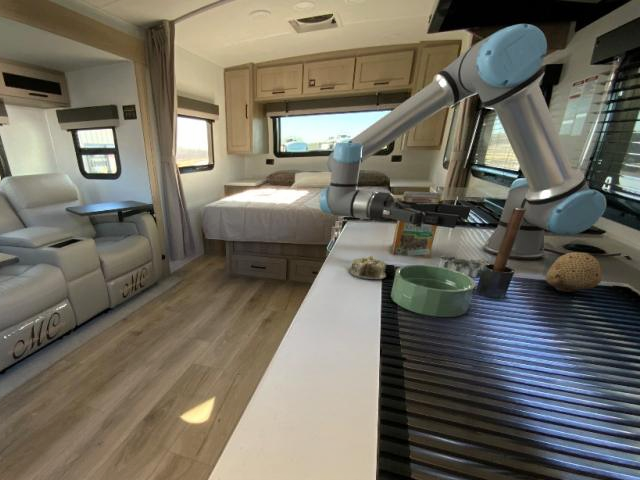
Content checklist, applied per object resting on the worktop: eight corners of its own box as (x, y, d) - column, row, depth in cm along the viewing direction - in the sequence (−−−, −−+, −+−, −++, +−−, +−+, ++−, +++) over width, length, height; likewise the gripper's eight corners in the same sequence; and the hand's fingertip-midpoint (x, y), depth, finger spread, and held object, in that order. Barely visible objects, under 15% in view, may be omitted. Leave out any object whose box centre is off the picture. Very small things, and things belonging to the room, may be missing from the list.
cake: (344, 269, 97) (346, 251, 95) (378, 270, 97) (381, 252, 95) (354, 279, 88) (357, 260, 86) (392, 280, 88) (396, 260, 86)
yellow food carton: (392, 254, 108) (405, 193, 100) (392, 245, 117) (403, 189, 108) (429, 257, 104) (444, 195, 96) (425, 248, 113) (440, 190, 105)
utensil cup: (495, 291, 81) (505, 264, 78) (509, 301, 76) (520, 273, 73) (470, 290, 82) (478, 263, 79) (482, 300, 77) (491, 272, 74)
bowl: (449, 290, 82) (456, 266, 79) (480, 321, 68) (491, 293, 65) (383, 287, 84) (388, 263, 81) (401, 317, 70) (407, 289, 67)
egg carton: (487, 275, 91) (492, 261, 89) (470, 280, 88) (474, 265, 86) (450, 263, 99) (454, 250, 97) (433, 267, 96) (437, 254, 94)
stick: (492, 291, 80) (522, 207, 71) (497, 295, 78) (529, 209, 69) (482, 291, 80) (511, 207, 71) (487, 295, 78) (517, 209, 69)
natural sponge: (601, 297, 77) (622, 257, 73) (574, 303, 75) (594, 261, 71) (558, 283, 85) (574, 245, 81) (532, 287, 83) (548, 249, 79)
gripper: (388, 212, 100) (469, 223, 87) (351, 228, 84) (444, 243, 71) (393, 187, 97) (478, 194, 84) (356, 197, 80) (454, 208, 68)
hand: (463, 216), depth 77 cm, fingers open, 13 cm apart
